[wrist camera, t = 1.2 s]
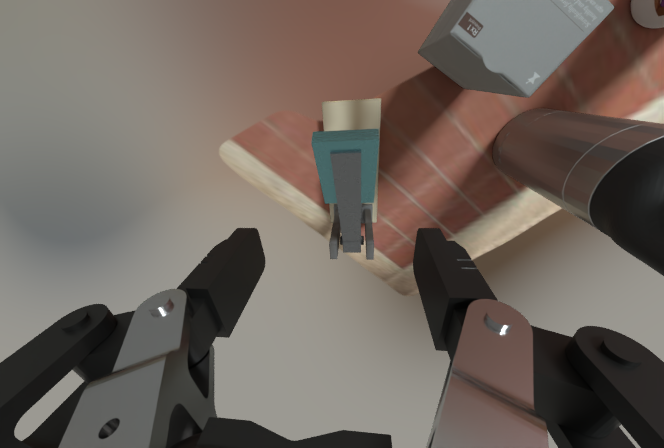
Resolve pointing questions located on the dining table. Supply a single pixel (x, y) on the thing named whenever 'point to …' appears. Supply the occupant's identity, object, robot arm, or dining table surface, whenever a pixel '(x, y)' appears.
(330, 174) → the lever
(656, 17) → the milk bottle
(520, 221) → the dining table surface
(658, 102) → the dining table surface
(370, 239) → the cracker base
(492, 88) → the skincare box
